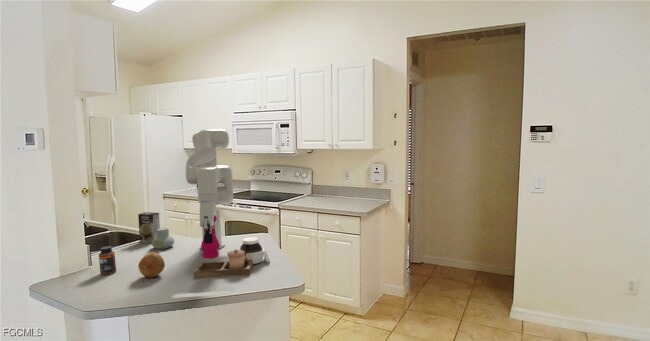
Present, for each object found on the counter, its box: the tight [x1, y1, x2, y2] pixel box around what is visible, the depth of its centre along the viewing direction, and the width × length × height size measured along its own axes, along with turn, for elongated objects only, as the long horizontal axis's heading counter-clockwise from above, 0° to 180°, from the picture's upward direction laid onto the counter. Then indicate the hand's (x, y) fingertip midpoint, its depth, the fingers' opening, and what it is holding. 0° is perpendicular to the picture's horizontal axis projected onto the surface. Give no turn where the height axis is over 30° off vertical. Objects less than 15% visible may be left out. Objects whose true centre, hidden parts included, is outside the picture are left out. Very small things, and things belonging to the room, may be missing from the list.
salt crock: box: [227, 249, 245, 269], centre depth 156 cm, size 7×7×9 cm
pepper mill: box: [200, 215, 220, 260], centre depth 154 cm, size 7×7×20 cm
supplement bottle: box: [98, 245, 117, 276], centre depth 161 cm, size 6×6×11 cm
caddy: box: [193, 260, 254, 279], centre depth 156 cm, size 11×22×4 cm, turn 95°
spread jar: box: [239, 236, 271, 266], centre depth 168 cm, size 12×11×12 cm
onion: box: [137, 251, 166, 278], centre depth 156 cm, size 10×10×10 cm
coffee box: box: [137, 211, 161, 244], centre depth 210 cm, size 9×6×16 cm
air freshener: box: [151, 227, 175, 250], centre depth 198 cm, size 11×8×10 cm
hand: (210, 240), depth 155 cm, fingers closed on pepper mill, 5 cm apart
